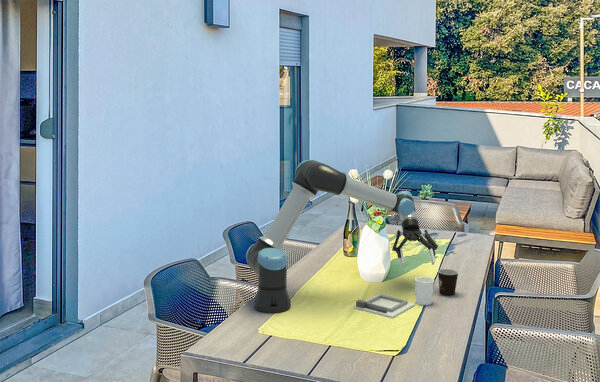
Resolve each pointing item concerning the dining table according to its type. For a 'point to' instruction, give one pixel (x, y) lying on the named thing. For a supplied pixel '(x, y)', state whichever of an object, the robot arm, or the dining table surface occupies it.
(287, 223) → the robot arm
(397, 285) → the dining table surface
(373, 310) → the dock
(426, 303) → the white cup
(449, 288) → the coffee mug
